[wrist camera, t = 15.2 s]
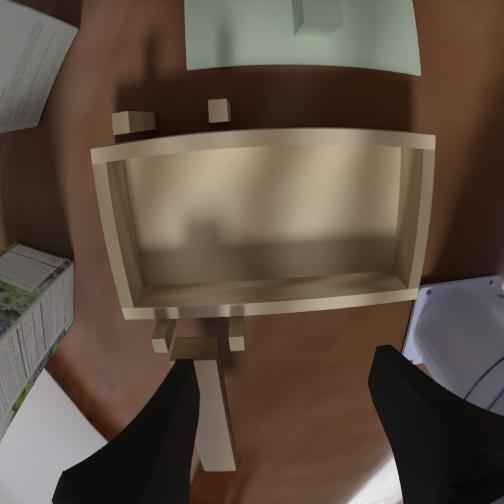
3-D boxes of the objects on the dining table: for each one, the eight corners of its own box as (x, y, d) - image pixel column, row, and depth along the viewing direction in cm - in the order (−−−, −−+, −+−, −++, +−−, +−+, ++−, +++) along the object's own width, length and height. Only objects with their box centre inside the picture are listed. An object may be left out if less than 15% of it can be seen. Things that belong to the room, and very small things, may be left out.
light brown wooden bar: (217, 336, 17) (216, 360, 16) (236, 450, 22) (236, 470, 20) (175, 337, 17) (169, 360, 16) (205, 450, 22) (204, 470, 20)
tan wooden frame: (406, 108, 17) (448, 109, 13) (392, 292, 22) (420, 329, 18) (112, 119, 17) (76, 121, 13) (143, 309, 22) (125, 352, 18)
